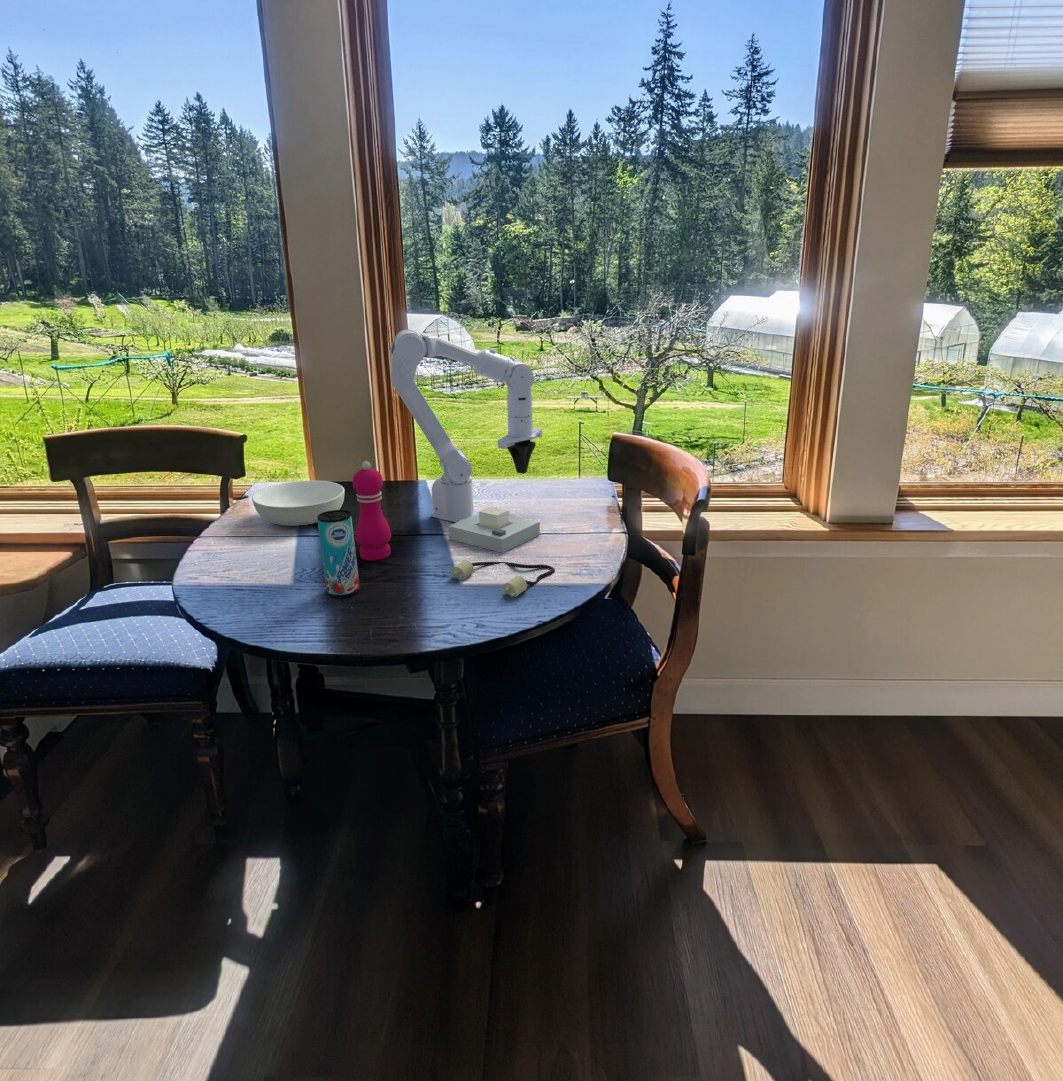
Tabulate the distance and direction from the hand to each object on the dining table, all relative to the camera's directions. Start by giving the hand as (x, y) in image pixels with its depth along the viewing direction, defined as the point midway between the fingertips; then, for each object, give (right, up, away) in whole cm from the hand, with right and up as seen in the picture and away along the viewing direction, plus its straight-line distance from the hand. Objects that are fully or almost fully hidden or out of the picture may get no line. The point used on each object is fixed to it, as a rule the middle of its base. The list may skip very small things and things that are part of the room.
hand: (521, 472), depth 178 cm
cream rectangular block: (-6, -15, -14) cm, 21 cm away
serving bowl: (-52, -11, +1) cm, 53 cm away
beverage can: (-32, -26, -39) cm, 57 cm away
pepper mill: (-30, -19, -22) cm, 42 cm away
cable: (-3, -24, -33) cm, 41 cm away
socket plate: (-6, -15, -13) cm, 21 cm away
